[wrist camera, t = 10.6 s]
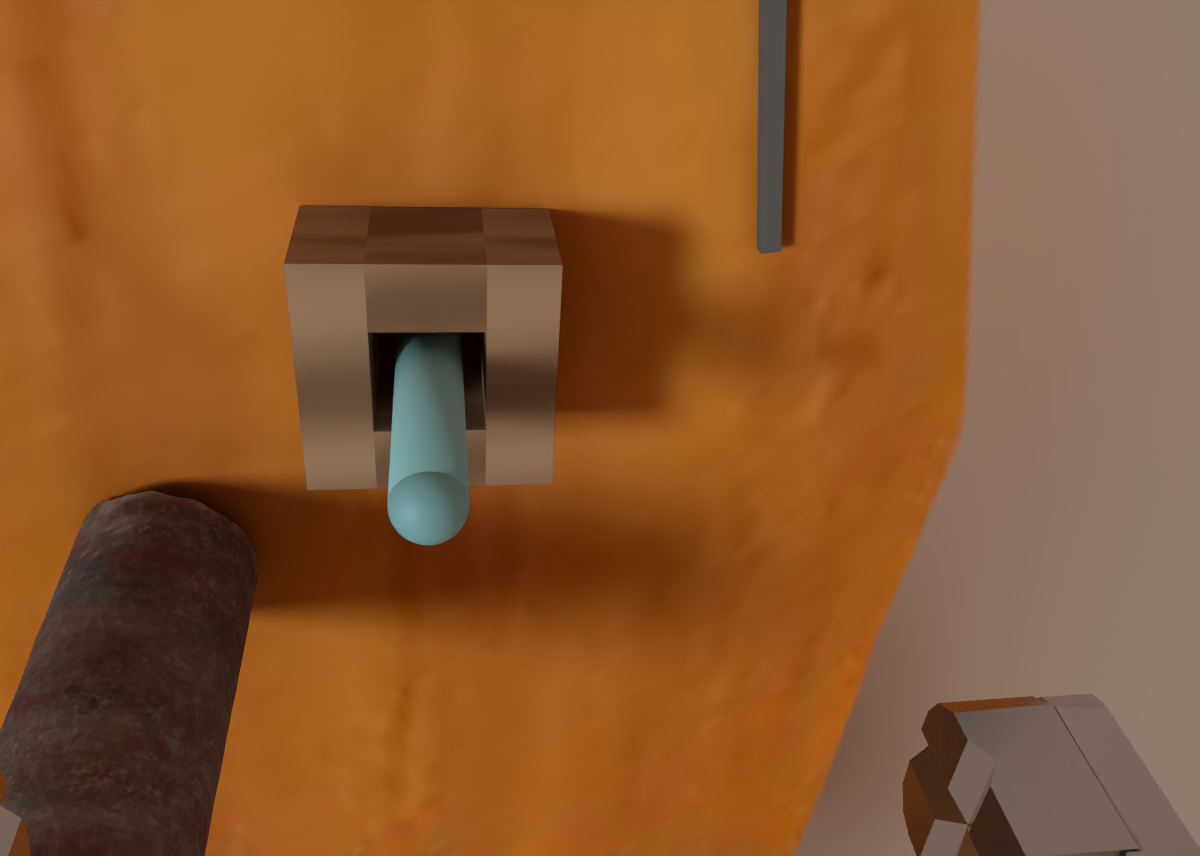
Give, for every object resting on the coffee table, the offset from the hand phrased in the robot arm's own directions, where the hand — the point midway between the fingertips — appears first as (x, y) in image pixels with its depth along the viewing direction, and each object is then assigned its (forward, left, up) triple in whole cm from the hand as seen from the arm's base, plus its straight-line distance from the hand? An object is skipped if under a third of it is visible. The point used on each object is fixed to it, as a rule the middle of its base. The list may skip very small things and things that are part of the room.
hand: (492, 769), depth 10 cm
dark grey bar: (+1, +11, -31) cm, 33 cm away
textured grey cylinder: (+23, -12, -31) cm, 40 cm away
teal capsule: (+12, -1, -31) cm, 33 cm away
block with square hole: (+12, -1, -31) cm, 33 cm away
